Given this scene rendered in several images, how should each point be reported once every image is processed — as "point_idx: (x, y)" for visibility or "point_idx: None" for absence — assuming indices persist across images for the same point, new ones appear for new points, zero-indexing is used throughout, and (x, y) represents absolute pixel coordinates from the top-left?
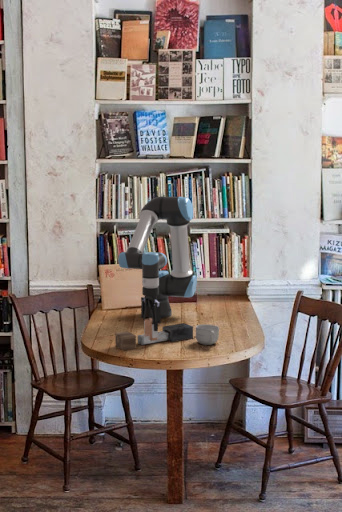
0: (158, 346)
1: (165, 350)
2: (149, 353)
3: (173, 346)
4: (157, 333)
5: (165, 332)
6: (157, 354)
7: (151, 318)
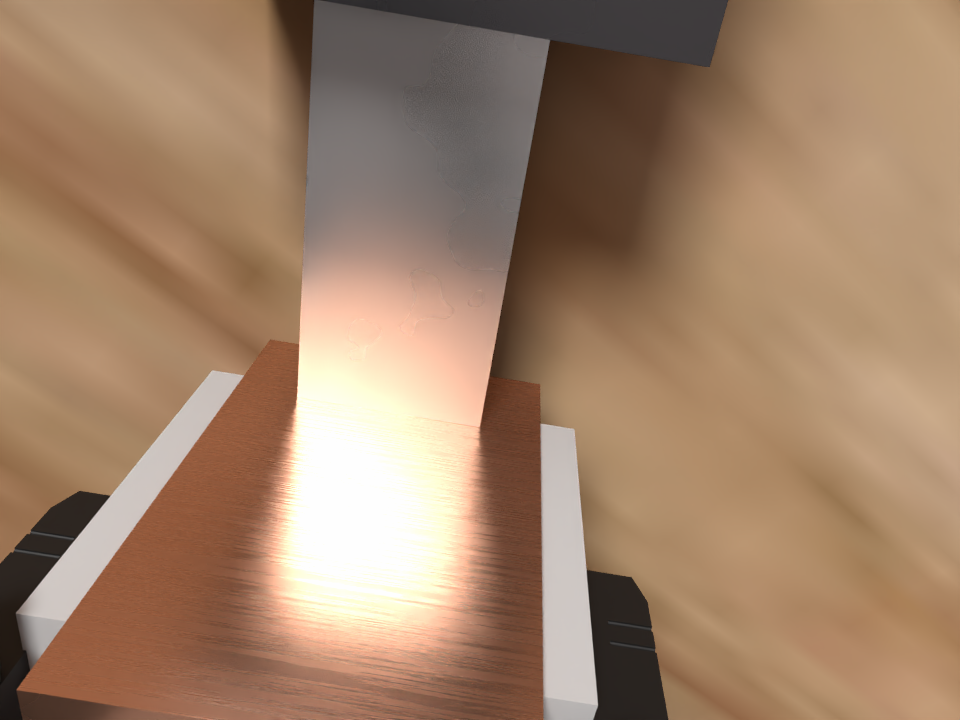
0: (667, 422)
1: (925, 489)
2: (811, 699)
3: (903, 236)
4: (575, 487)
5: (485, 121)
6: (941, 668)
7: (132, 717)
